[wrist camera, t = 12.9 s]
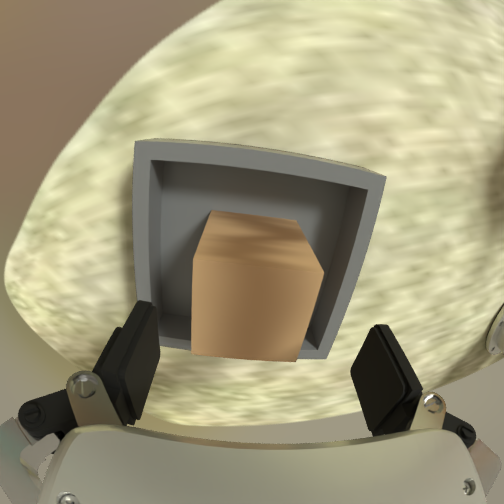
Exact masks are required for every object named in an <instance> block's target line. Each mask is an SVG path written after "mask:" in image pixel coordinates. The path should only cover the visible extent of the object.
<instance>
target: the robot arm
mask: <svg viewBox="0 0 504 504" xmlns="http://www.w3.org/2000/svg"><path fill="white" fill-rule="evenodd" d="M486 349H487V350H488V352H489V353H490V354H493V355H495V354H498V353H500V352H502V353H503V354H504V306H503V307H502V309H501V311H500V312H499V314H498V315H497V317H496V319H495V321H494V322H493V324H492V326H491V328H490V331H489V333H488V336H487V340H486ZM159 359H160V344H159V333H158V321H157V308H156V306H153V305H152V302H148V301H142V300H138V301H137V303H136V305H135V306H134V308H133V310H132V312H131V313H130V315H129V317H128V319H127V321H126V322H125V324H124V326H123V328H121V327H117V328H116V329H115V330H114V332H113V334H112V336H111V337H110V339H109V341H108V343H107V345H106V346H105V348H104V350H103V352H102V354H101V355H100V357H99V359H98V361H97V363H96V365H95V367H94V369H93V371H92V372H91V371H79V372H77V373H74V374H73V375H72V376H70V378H69V379H68V381H67V384H66V389H64V390H61V391H58V392H55V393H52V394H49V395H46V396H43V397H39V398H36V399H33V400H30V401H28V402H26V403H24V404H23V405H22V406H21V408H20V409H19V413H18V417H17V418H16V419H14V418H13V417H12V418H10V419H9V420H7V421H6V422H4V423H3V424H2V425H1V426H0V486H1V487H2V489H3V490H4V492H5V494H6V495H7V497H8V498H9V499H10V501H11V502H12V504H487V501H486V496H487V494H488V492H489V490H490V489H491V487H492V485H493V483H494V481H495V480H496V478H497V476H498V474H499V472H500V470H501V460H500V458H499V457H498V456H497V455H496V454H495V453H494V452H493V451H492V450H491V449H490V448H489V447H488V446H487V445H485V444H484V443H483V442H482V441H481V440H480V439H477V440H476V432H475V430H474V428H473V427H472V426H471V425H470V424H468V423H467V422H465V421H463V420H461V419H459V418H457V417H455V416H453V415H451V414H449V413H447V412H446V404H445V401H444V400H443V398H442V397H441V396H440V395H438V394H437V393H434V392H426V393H424V394H422V392H421V391H422V390H423V387H422V386H421V384H420V382H419V380H418V378H417V376H416V374H415V372H414V370H413V368H412V367H411V365H410V363H409V361H408V359H407V357H406V356H405V354H404V352H403V350H402V348H401V347H400V345H399V343H398V341H397V340H396V338H395V336H394V334H393V333H392V331H391V329H390V328H389V326H388V325H383V324H376V325H375V326H374V327H372V328H371V329H370V331H369V333H368V335H367V337H366V339H365V341H364V343H363V345H362V347H361V349H360V351H359V353H358V355H357V357H356V359H355V361H354V363H353V365H352V367H351V371H350V373H351V377H352V380H353V383H354V386H355V389H356V392H357V395H358V398H359V401H360V404H361V408H362V411H363V414H364V417H365V420H366V424H367V427H368V429H369V431H371V432H372V435H373V437H368V438H361V439H353V440H344V441H334V442H322V443H303V444H302V443H301V444H261V443H240V442H226V441H217V440H208V439H200V438H193V437H186V436H179V435H173V434H167V433H162V432H157V431H152V430H146V429H141V428H136V427H129V426H127V424H130V425H134V424H135V421H136V419H137V420H140V418H141V415H142V412H143V409H144V405H145V402H146V399H147V396H148V392H149V389H150V386H151V383H152V380H153V377H154V374H155V371H156V368H157V365H158V362H159ZM49 454H54V455H53V457H52V459H51V462H50V464H49V466H48V469H47V472H46V475H45V477H44V480H43V483H42V482H41V480H40V478H39V477H38V468H39V466H40V465H41V463H43V462H44V461H45V460H46V459H45V457H46V456H48V455H49Z"/></svg>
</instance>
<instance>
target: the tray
mask: <svg viewBox="0 0 504 504" xmlns="http://www.w3.org/2000/svg"><path fill="white" fill-rule="evenodd" d="M385 181H386V176H384V175H381V174H379V173H376V172H374V171H371V170H368V169H366V168H363V167H359V166H355V165H351V164H347V163H342V162H338V161H333V160H329V159H324V158H319V157H314V156H309V155H303V154H298V153H292V152H286V151H280V150H274V149H267V148H260V147H253V146H245V145H237V144H228V143H218V142H207V141H195V140H180V139H158V138H154V139H146V140H139V141H135V147H134V163H133V194H132V220H133V251H134V268H135V282H136V293H137V301H138V300H142V301H148V302H152V305H153V306H156V308H157V321H158V333H159V344H160V346H165V347H171V348H178V349H185V350H191V320H192V276H193V258H194V255H195V253H196V250H197V247H198V244H199V242H200V239H201V236H202V234H203V231H204V228H205V226H206V223H207V220H208V218H209V215H210V213H211V210H215V211H225V212H234V213H242V214H251V215H259V216H267V217H275V218H283V219H290V220H296V221H297V223H298V224H299V226H300V228H301V230H302V232H303V234H304V235H305V237H306V239H307V241H308V243H309V245H310V246H311V248H312V250H313V252H314V254H315V256H316V258H317V260H318V262H319V264H320V265H321V267H322V269H323V271H324V276H323V279H322V283H321V286H320V290H319V293H318V296H317V300H316V303H315V306H314V309H313V313H312V316H311V319H310V322H309V325H308V328H307V331H306V334H305V337H304V340H303V343H302V346H301V349H300V352H299V355H298V358H297V359H326V358H327V356H328V354H329V352H330V349H331V347H332V345H333V342H334V340H335V338H336V335H337V333H338V330H339V328H340V325H341V323H342V320H343V318H344V315H345V313H346V310H347V307H348V305H349V302H350V299H351V297H352V294H353V291H354V288H355V285H356V282H357V280H358V277H359V274H360V271H361V268H362V265H363V262H364V258H365V255H366V252H367V249H368V246H369V242H370V239H371V235H372V232H373V228H374V225H375V221H376V218H377V214H378V210H379V206H380V202H381V198H382V194H383V190H384V186H385Z"/></svg>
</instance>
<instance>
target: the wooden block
mask: <svg viewBox="0 0 504 504" xmlns="http://www.w3.org/2000/svg"><path fill="white" fill-rule="evenodd" d="M323 276H324V271H323V269H322V267H321V265H320V264H319V262H318V260H317V258H316V256H315V254H314V252H313V250H312V248H311V246H310V245H309V243H308V241H307V239H306V237H305V235H304V234H303V232H302V230H301V228H300V226H299V224H298V223H297V221H296V220H290V219H283V218H275V217H267V216H259V215H251V214H242V213H234V212H225V211H215V210H211V213H210V215H209V218H208V220H207V223H206V226H205V228H204V231H203V234H202V236H201V239H200V242H199V244H198V247H197V250H196V253H195V255H194V258H193V276H192V320H191V353H192V354H197V355H205V356H214V357H223V358H234V359H247V360H262V361H283V362H296V360H297V358H298V355H299V352H300V349H301V346H302V343H303V340H304V337H305V334H306V331H307V328H308V325H309V322H310V319H311V316H312V313H313V309H314V306H315V303H316V300H317V296H318V293H319V290H320V286H321V283H322V279H323Z"/></svg>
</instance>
